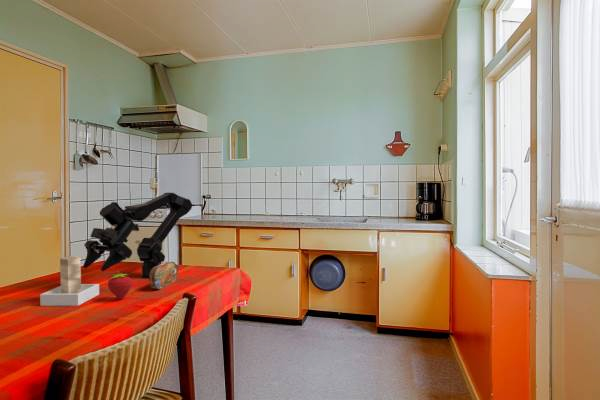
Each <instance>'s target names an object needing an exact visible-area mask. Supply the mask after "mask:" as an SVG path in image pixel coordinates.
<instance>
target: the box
mask: <svg viewBox="0 0 600 400" xmlns="http://www.w3.org/2000/svg"><path fill="white" fill-rule="evenodd" d="M99 295H100V284H99V283H81V292H79V293H77V294H61V285H60V286H57V287H54V288H52V289H50V290H48V291H45V292H43V293H41V294H40V296H39V297H40V298H39V299H40V301H39V302H40V307H42V306H45V307H48V306H49V307H52V306H53V307H55V306H56V307H58V306H66V307H67V306H70V307H71V306H73V307H74V306H75V307H77V306H81V305H82V304H83V303H86V302H87V301H89V300H91V299H93V298H95V297H97V296H99Z"/></svg>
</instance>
